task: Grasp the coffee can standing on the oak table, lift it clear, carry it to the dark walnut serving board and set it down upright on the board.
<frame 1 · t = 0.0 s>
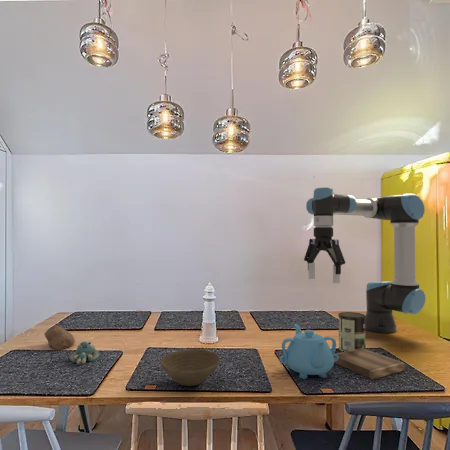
hand: (323, 280, 142), 28 cm above the table, fingers open, 13 cm apart
coffee can: (351, 350, 145), on the table
bowl: (190, 384, 112), on the table
stuffed animal: (84, 360, 133), on the table
walnut board: (366, 365, 127), on the table
stone: (61, 346, 149), on the table
teapot: (308, 372, 121), on the table
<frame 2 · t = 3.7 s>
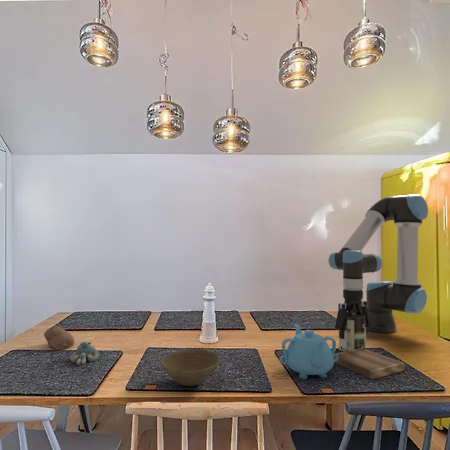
hand: (353, 344, 144), 2 cm above the table, fingers closed on coffee can, 10 cm apart
coffee can: (351, 350, 145), on the table, touching gripper
everything else where it was.
when the fingers open (6 cm above the table, at t = 10.8 s): coffee can drops 1 cm, resting on walnut board.
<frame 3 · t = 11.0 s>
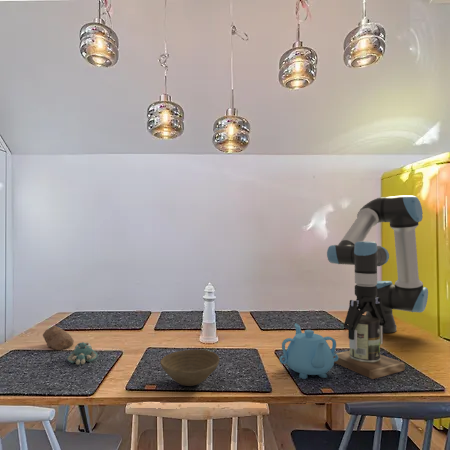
hand: (366, 345, 128), 7 cm above the table, fingers open, 12 cm apart
coffee can: (364, 358, 128), point 2 cm above the table, touching walnut board
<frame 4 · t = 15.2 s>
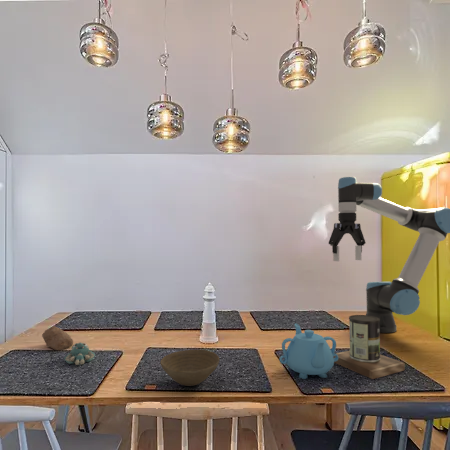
hand: (347, 260, 159), 35 cm above the table, fingers open, 13 cm apart
at the end: coffee can inside the target area on the walnut board (0.9 cm from its centre), point 2.3 cm above the walnut board's base; coffee can tilted 0°; the gripper is holding nothing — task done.
